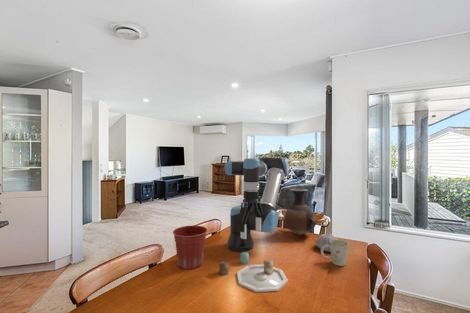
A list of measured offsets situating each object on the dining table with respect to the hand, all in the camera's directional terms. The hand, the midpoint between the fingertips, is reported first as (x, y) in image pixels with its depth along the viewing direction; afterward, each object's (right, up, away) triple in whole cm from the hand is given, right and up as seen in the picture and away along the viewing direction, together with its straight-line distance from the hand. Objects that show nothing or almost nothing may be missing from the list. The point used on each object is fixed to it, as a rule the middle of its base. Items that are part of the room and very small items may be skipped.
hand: (251, 234), depth 113 cm
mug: (+41, -15, +2) cm, 43 cm away
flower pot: (-30, -15, +1) cm, 33 cm away
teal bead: (-3, -14, 0) cm, 15 cm away
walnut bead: (-13, -15, -10) cm, 22 cm away
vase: (+34, -14, +41) cm, 56 cm away
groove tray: (+3, -15, -14) cm, 21 cm away
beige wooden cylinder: (+7, -13, -10) cm, 18 cm away
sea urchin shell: (+45, -15, +19) cm, 51 cm away
